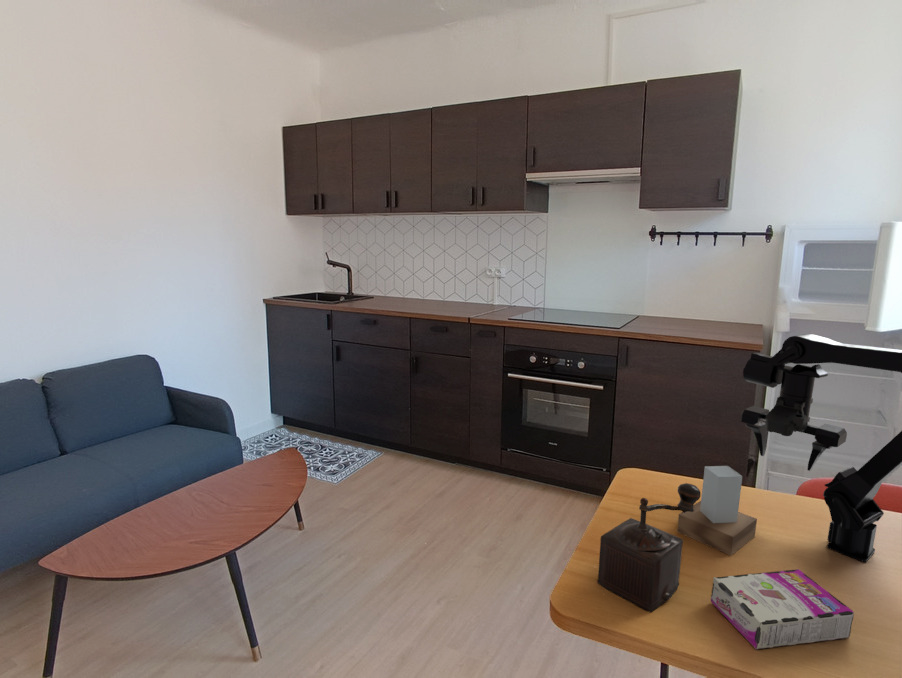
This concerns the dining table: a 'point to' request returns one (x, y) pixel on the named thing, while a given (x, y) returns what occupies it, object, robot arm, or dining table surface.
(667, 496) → the dining table surface
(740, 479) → the grey-blue block
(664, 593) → the manual coffee grinder
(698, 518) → the walnut block
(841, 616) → the candy bar box
